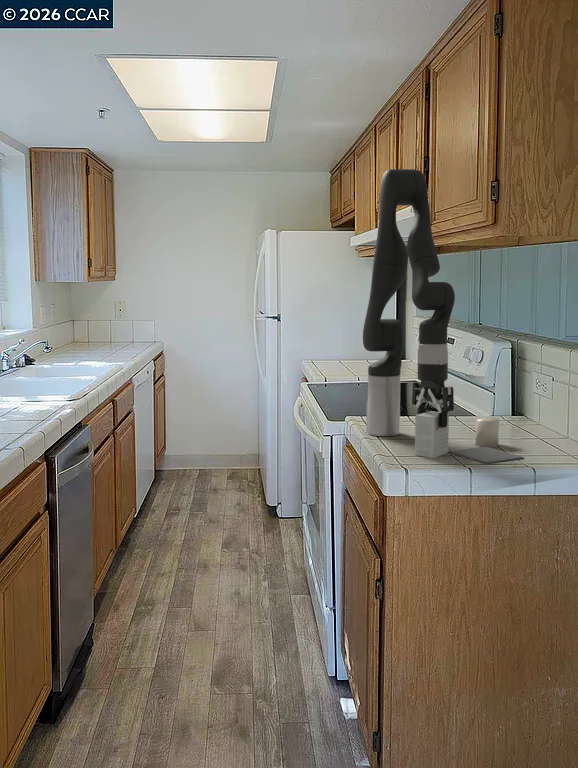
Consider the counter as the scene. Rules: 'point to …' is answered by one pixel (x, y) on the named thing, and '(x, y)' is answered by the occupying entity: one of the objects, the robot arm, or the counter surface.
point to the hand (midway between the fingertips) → (432, 424)
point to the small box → (430, 435)
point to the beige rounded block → (487, 432)
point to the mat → (486, 455)
